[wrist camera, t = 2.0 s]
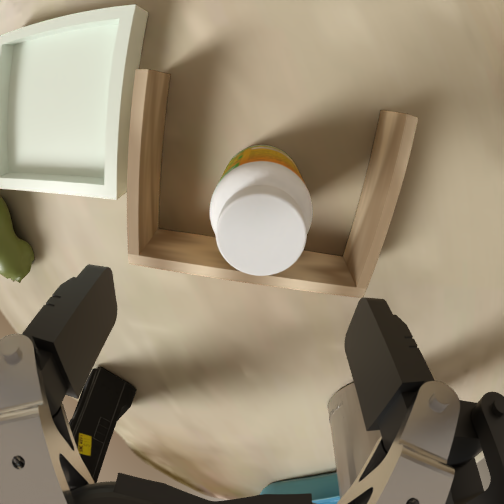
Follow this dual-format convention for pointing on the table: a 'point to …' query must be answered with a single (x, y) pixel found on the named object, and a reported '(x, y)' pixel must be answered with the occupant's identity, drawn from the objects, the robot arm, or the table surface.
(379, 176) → the frame
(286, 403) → the table surface
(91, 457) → the portable radio
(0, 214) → the pear
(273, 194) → the supplement bottle
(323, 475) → the casserole dish
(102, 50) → the plastic tray
